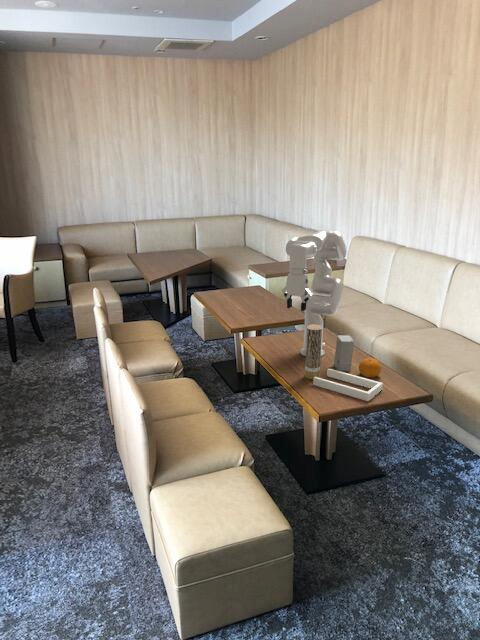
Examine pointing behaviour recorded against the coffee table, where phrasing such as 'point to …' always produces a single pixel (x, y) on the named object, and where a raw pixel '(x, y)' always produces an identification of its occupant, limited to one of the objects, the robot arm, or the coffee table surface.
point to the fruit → (370, 367)
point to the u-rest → (347, 390)
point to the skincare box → (343, 353)
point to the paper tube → (313, 351)
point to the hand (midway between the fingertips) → (296, 308)
